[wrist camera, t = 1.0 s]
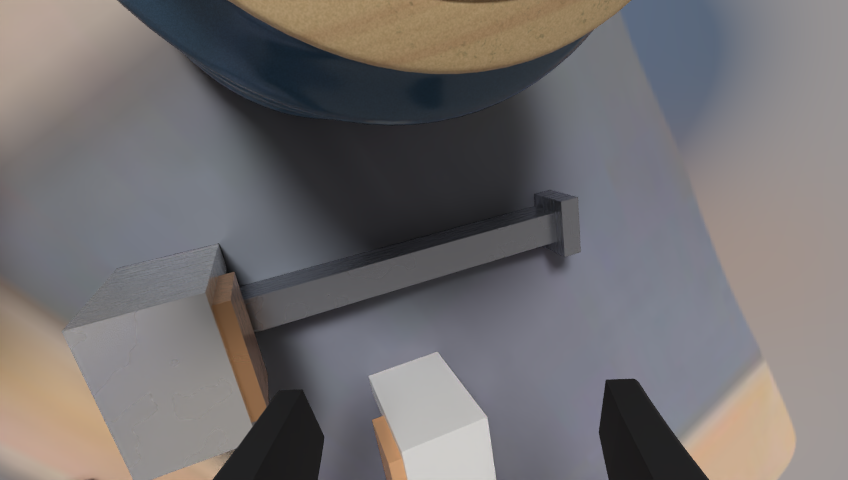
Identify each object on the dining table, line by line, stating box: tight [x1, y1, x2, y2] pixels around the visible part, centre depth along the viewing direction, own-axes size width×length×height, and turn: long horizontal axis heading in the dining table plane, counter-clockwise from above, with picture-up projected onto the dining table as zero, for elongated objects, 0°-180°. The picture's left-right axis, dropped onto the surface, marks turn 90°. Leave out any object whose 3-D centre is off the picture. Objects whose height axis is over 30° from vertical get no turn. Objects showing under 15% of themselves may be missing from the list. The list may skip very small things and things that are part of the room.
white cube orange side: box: [369, 352, 496, 480], centre depth 23 cm, size 6×5×6 cm
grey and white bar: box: [62, 190, 581, 480], centre depth 20 cm, size 6×22×6 cm, turn 100°
